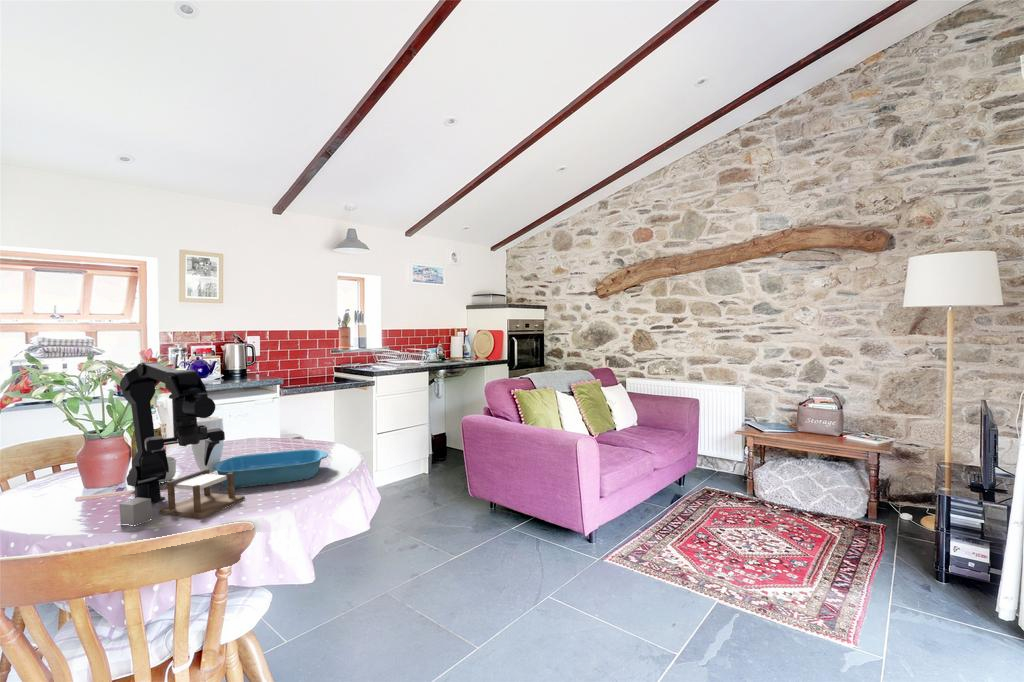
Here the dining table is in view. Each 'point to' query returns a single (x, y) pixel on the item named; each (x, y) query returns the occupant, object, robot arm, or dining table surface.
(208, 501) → the trapdoor stand
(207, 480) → the trapdoor
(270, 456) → the casserole dish
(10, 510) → the dining table surface
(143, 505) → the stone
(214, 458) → the cup
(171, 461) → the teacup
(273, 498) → the dining table surface
